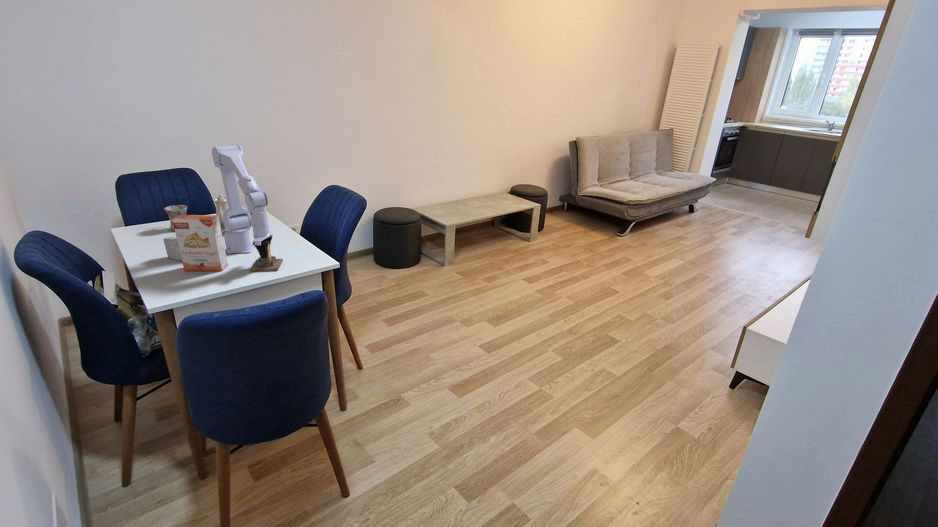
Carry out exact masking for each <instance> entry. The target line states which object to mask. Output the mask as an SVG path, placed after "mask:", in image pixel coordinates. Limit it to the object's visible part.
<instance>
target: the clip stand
mask: <svg viewBox="0 0 938 527" xmlns="http://www.w3.org/2000/svg"><path fill="white" fill-rule="evenodd" d="M271 258H272V260H271V261H261V257H260V256H259V257H258V258H257V259H256V260H255V261H254V263H253V264H252V265H251V267H250V268H249V272H250V273H255V272H256V273H257V272H258V273H259V271H261V272H278V271H279V269H280V267H281V266H282V263H283V261H284V259H283V258H277V257H276V256H275V255H271Z"/></svg>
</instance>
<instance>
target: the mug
mask: <svg viewBox="0 0 938 527" xmlns="http://www.w3.org/2000/svg"><path fill="white" fill-rule="evenodd" d="M163 210H164V212H165V213H166V214H167V216H168V218H169V222H170V225H169V230H170V231H174V232H175V229H174V224H173V220H172V219H174V218H176V217H177V216H179V215H187V210H188V206H187V205H184V204H177V205H169V206H166V207H164V208H163Z"/></svg>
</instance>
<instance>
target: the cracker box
mask: <svg viewBox="0 0 938 527" xmlns="http://www.w3.org/2000/svg"><path fill="white" fill-rule="evenodd" d="M172 220H173V224H174V229H175V231H174V233H175V236H176V237H177V241H178V246H179V250H180V254H181V258H182V266H183V270H184V272H187V271H189V272H191V271H192V272H193V271H195V272H196V271H197V272H210V271H211V272H222V271H223V270H224V269H226V267H228V266H229V264H228V263H229V262H228V258H227V253H226V252H227V251H226V246H225V241H224V236H223V233H222V229H221V227H220V222H219V216H218V215H216V214H215V215H212V214H211V215H210V214H205V215H203V214H202V215H201V214H186V215H179V216H177V217H176V218H174V219H172Z"/></svg>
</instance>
